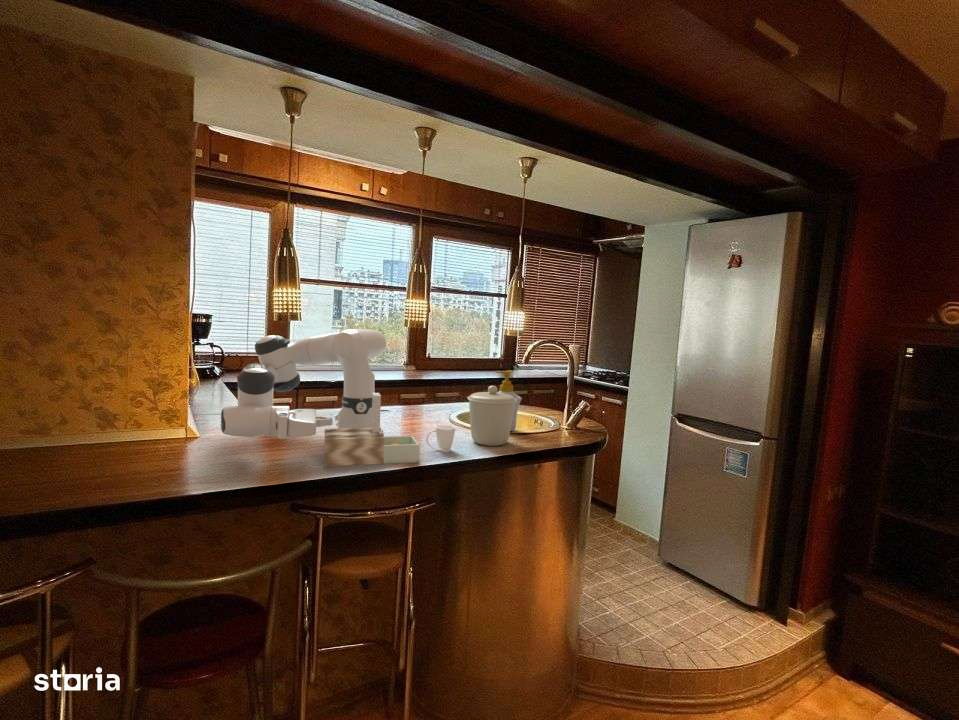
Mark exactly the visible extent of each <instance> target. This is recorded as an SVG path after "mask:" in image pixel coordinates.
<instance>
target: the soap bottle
mask: <svg viewBox="0 0 959 720" xmlns="http://www.w3.org/2000/svg"><path fill="white" fill-rule="evenodd" d="M496 373H497V374H502V375H504V376H503V377H504V380H502V382H501V384H500V385H499V391H498V390H497V392H498V393H505V394H509V395H511V396H513V397H514V398H515V399H517V402H516V403H515V407H514V413H513V419H512V425H511V430H510V431H512V432H514V431H515V430H516V428H517V418H518V417H517V415H518V411H519V406H520V403H521V401H522V400H523V399H522V397H521V396H519V395H518V394H516V393H515V392H514V385H512V381H510V380H509V379H510V377H511V376H510V375H511V373H513V370H511V369H509V370H502V371H501V370H497V371H496Z"/></svg>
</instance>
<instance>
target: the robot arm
mask: <svg viewBox="0 0 959 720" xmlns="http://www.w3.org/2000/svg"><path fill="white" fill-rule="evenodd" d="M386 339H387V338H386V337H385V335H384V334H383V333H382V332H380V331H378V330H375V329H371V328H350V329H349V328H347V329H345V330H341V331H340V332H333V333H332V332H331V333H327V334H319V335H313V336H308V337H304V338H301V339H298V340H296V341H294V342H293V343H291V340H290V339H289V338H285V337H283V336H281V335H278V334H273V335H266V336H263V337H261V338H260V339H259V340H257V341H255V342H256V343H255V344H254V350H255V354H256V355H257V357H258V360H259V363H258V362H255V363H249V364H247V365H246V366H245V367H243V369H242V370H241V372H240V373H238V375H237V376H236V378H237V379H236V381H237V382H236V383H237V405H235V406H226V407H223V408H222V409H221V412H220V429H221V432H222V433H223V434H224V435H227V436H233V437H241V438H242V437H243V438H245V437H246V438H247V437H249V438H253V437H254V438H255V437H259V436H266V437H270V438H271V437H272V438H274V437H276V438H278V439H279V440H287V439H288V437H289V438H300V437H301V438H303V437H312V436H315V435H316V433H317V428H321V427H325V426H326V427H327V426H333V428H332V429H345V428H371V419H372V393H375V381H376V378H375V376H376V375H375V374H374V373H373V372H372V370H371V368H370V364H369V359H373V358H376V357H378V356H380V355H381V354H383V353H384V352H385V350H386V349H387V340H386ZM335 363H340V365H341V369H342V373H343V395H342V397H341V398H342V399H341V406H342V407H341V409H340V410H339V412H338V413H336V414H335V415H334V420H333V418H332V417H329V416H328V417H327V416H322V415H321V416H320V415H317V409H315V408H295V409H291V408H290V406H289V405H274V392H278V393H287V392H290V391H292V390H294V389H295V388H297V387H298V386H299V385H300V383H301V376H300V373H299V372H298V369H297V366H296V365H299V366H320V365H328V364H335ZM290 409H291V410H290ZM333 421H336V423H335V424H334V425H333ZM381 432H382V433H384V429H382V428H381Z"/></svg>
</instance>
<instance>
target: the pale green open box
mask: <svg viewBox="0 0 959 720" xmlns="http://www.w3.org/2000/svg"><path fill="white" fill-rule="evenodd" d="M393 443H397V444H399V445H391V444H393ZM419 462H420V443H419V442H418V441H417V439H416V438H415V437H414V435H395V436H394V435H392V436H390V435H389V436H388V435H387V436H384V463H383V464H382V465H385V464H387V465H388V464H405V463H406V464H409V463H419Z"/></svg>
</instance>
